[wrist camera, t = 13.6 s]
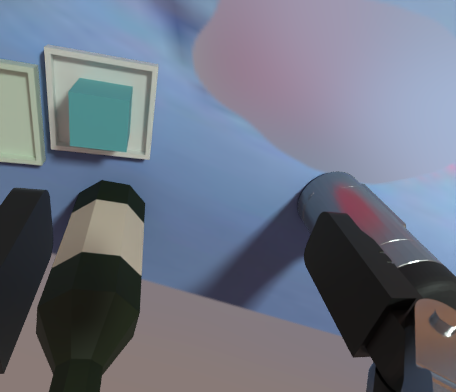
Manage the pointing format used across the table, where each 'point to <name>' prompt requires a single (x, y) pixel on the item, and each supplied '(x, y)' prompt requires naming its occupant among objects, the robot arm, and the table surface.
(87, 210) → the wine bottle
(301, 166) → the table surface
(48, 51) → the grey tray
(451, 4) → the table surface
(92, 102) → the teal block
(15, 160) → the green tray
